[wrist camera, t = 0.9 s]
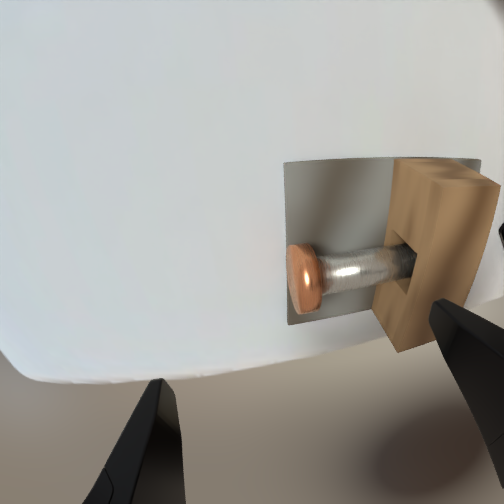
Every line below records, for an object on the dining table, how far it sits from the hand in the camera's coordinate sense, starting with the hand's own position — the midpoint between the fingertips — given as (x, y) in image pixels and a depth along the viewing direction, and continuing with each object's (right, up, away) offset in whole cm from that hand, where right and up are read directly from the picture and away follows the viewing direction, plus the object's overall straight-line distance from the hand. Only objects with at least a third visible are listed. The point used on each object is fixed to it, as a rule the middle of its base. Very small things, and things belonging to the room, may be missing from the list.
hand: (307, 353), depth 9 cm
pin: (+6, +3, +14) cm, 15 cm away
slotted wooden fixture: (+10, +4, +14) cm, 18 cm away
